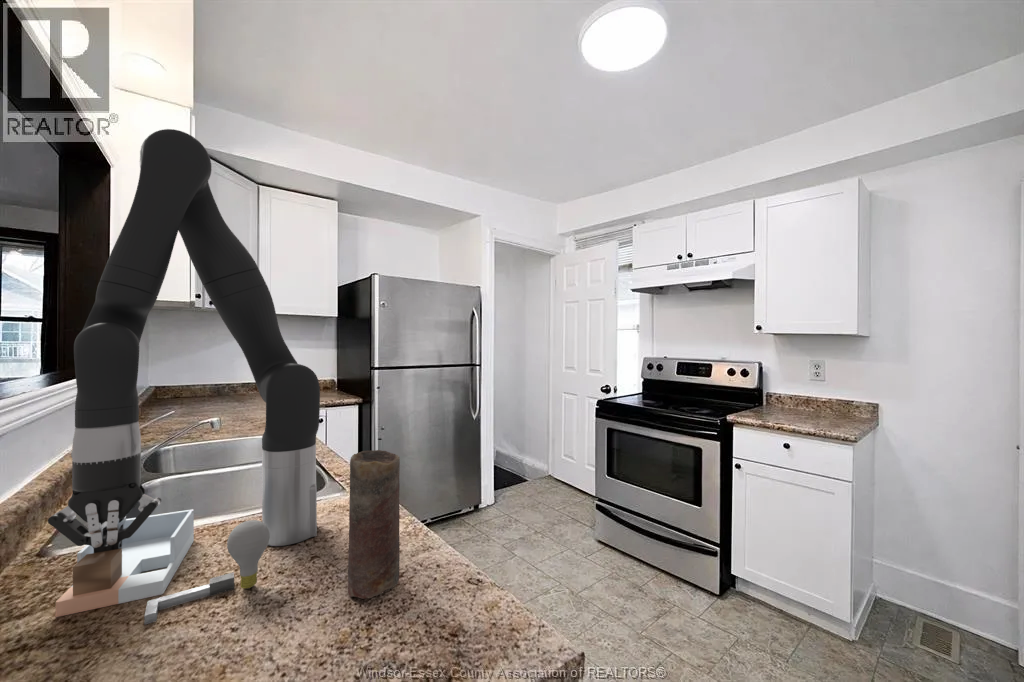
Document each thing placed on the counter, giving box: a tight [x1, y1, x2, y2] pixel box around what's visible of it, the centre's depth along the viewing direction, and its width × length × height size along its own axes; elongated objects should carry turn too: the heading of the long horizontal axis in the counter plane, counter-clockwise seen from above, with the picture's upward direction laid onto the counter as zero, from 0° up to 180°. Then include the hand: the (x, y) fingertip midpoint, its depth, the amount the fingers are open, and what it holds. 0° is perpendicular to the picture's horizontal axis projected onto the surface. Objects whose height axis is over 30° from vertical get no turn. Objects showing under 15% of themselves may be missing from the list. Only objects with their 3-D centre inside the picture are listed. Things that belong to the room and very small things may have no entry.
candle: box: [347, 449, 401, 600], centre depth 63 cm, size 8×7×20 cm
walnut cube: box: [72, 548, 122, 596], centre depth 61 cm, size 4×4×4 cm
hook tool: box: [143, 572, 235, 626], centre depth 60 cm, size 10×4×2 cm, turn 126°
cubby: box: [54, 508, 195, 618], centre depth 68 cm, size 12×19×6 cm, turn 26°
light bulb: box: [226, 519, 270, 590], centre depth 63 cm, size 5×6×10 cm
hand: (107, 567), depth 64 cm, fingers closed
